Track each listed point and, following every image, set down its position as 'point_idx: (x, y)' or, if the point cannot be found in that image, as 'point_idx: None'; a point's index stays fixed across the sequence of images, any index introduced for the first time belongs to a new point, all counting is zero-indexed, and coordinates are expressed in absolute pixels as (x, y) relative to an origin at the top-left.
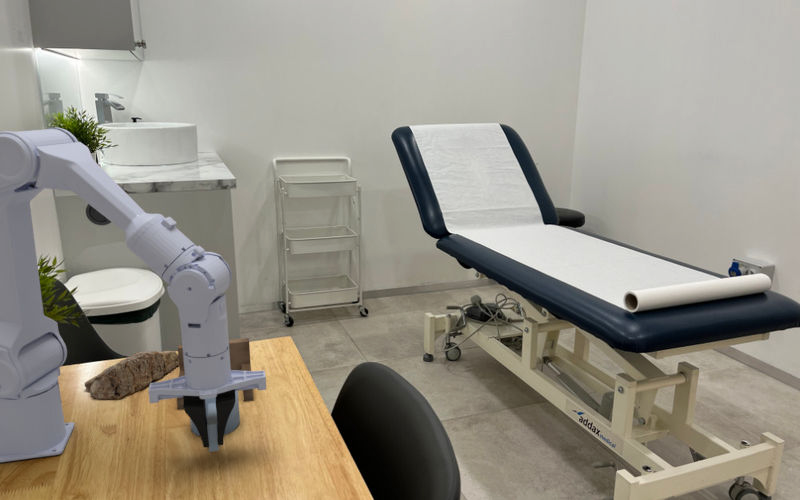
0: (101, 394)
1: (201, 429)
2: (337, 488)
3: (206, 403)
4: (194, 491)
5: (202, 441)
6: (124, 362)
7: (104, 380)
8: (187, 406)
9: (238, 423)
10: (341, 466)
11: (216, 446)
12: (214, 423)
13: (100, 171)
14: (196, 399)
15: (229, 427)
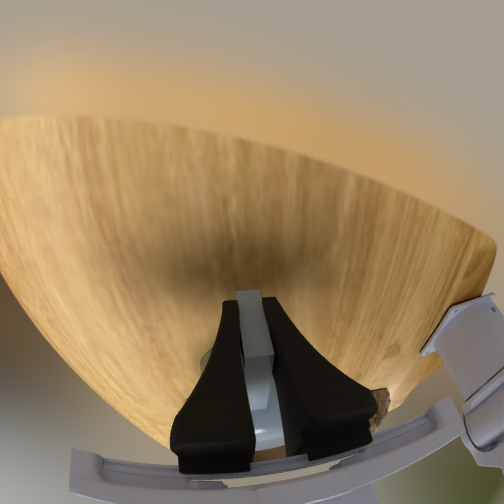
0: (382, 394)
1: (293, 339)
2: None
3: (270, 408)
4: (295, 161)
5: (282, 308)
6: None
7: (382, 410)
8: (366, 413)
9: (201, 364)
10: None
11: (241, 299)
12: (251, 360)
13: None
14: (328, 439)
15: None
